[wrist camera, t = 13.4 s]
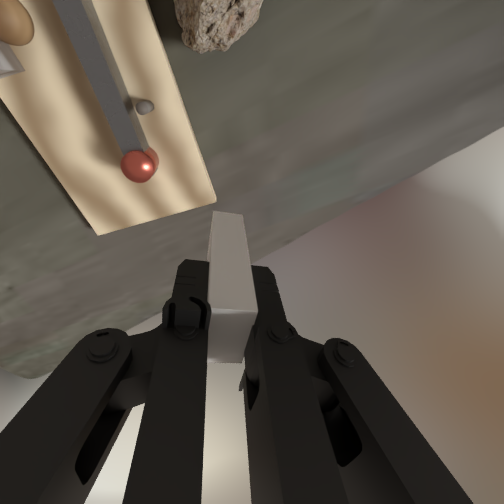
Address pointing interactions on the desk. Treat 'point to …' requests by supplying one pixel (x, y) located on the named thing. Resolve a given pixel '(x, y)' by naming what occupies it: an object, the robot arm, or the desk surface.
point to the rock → (215, 22)
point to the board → (101, 112)
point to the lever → (108, 87)
